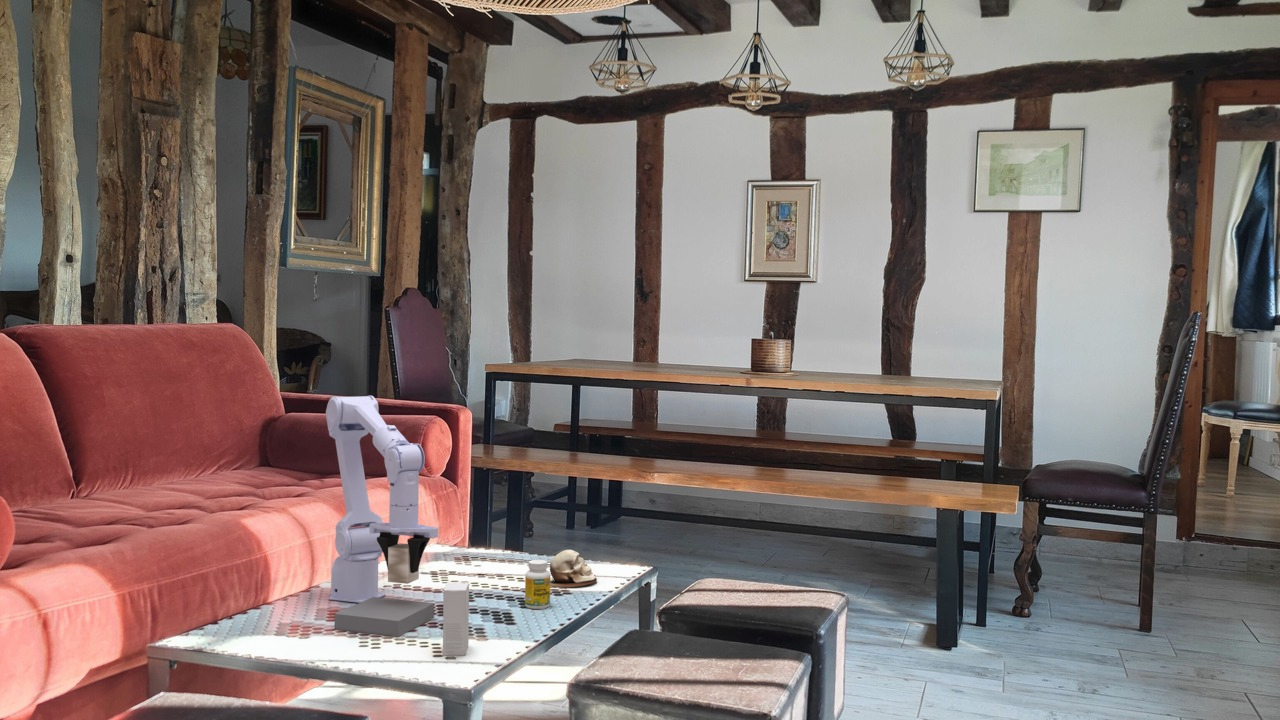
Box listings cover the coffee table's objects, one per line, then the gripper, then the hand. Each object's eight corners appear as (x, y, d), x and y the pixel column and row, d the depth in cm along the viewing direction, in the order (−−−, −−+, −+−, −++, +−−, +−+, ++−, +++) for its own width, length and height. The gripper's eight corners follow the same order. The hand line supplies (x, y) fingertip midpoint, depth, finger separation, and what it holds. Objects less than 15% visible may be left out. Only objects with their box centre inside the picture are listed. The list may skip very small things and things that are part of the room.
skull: (602, 572, 247) (598, 547, 240) (594, 609, 240) (589, 584, 233) (554, 568, 249) (548, 542, 242) (544, 604, 242) (538, 579, 235)
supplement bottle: (542, 601, 223) (543, 557, 222) (554, 607, 218) (555, 562, 218) (520, 605, 220) (521, 560, 219) (531, 610, 215) (532, 565, 215)
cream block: (387, 581, 207) (388, 547, 207) (399, 577, 211) (399, 543, 211) (407, 583, 205) (408, 549, 205) (418, 578, 210) (419, 544, 210)
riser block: (334, 629, 199) (334, 613, 199) (373, 611, 212) (373, 596, 212) (398, 636, 195) (398, 621, 195) (434, 617, 208) (434, 603, 208)
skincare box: (445, 645, 190) (446, 581, 189) (468, 645, 190) (469, 581, 190) (441, 656, 184) (442, 589, 183) (465, 656, 184) (467, 589, 184)
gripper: (361, 504, 206) (360, 572, 206) (426, 509, 202) (425, 578, 202) (380, 499, 213) (379, 564, 213) (443, 504, 209) (442, 570, 209)
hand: (402, 570), depth 208 cm, fingers closed on cream block, 4 cm apart
